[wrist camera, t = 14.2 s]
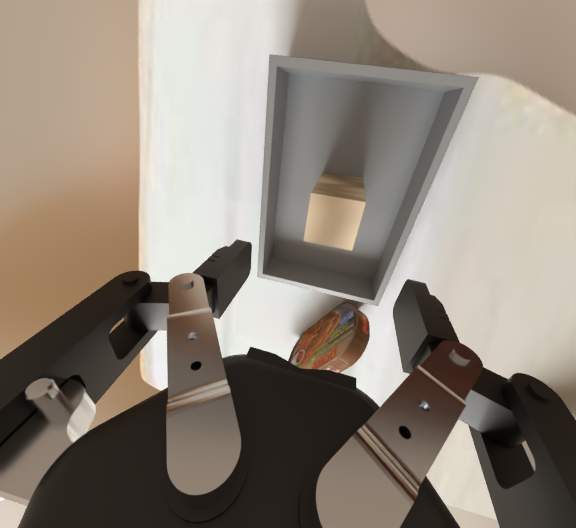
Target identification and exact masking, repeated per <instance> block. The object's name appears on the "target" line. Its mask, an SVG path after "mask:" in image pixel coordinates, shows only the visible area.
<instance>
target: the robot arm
mask: <svg viewBox="0 0 576 528" xmlns="http://www.w3.org/2000/svg"><path fill="white" fill-rule="evenodd" d="M251 250H252V245H251V243H250V242H246V241H241V240H236V241H235V242H234V243H233V244H232V245H231V246H230V247H227V246H225V247H223V248H220V249H218V250H217V251H216V252H214V253H213V254H212V256H210V257H209V258H208V260H206V261H205V262H204V263H203V264H202V265H201V266H200V267H198V268H197V269H196V270H195V271H194V272H193V273H185V274H180V275H177V276H175V277H174V278H172V279H171V280H170V282H151V280H150V276H149V274H148V273H146V272H143V271H129V272H125V273H122V274H120V275H118V276H116V277H115V278H114V279H112V280H111V281H109V282H108V283H107V284H105V285H104V286H102V287H101V288H100V289H98V290H97V291H95V292H94V293H93V294H91V295H90V296H88V297H87V298H86V299H84V300H83V301H81V302H80V303H79V304H77V305H76V306H74V307H73V308H72V309H70V310H69V311H67V312H66V313H65V314H63V315H62V316H60V317H59V318H58V319H56V320H55V321H54V322H52V323H51V324H49V325H48V326H47V327H45V328H44V329H42V330H41V331H40V332H38V333H37V334H35V335H34V336H33V337H31V338H30V339H28V340H27V341H26V342H24V343H23V344H22V345H20V346H19V347H17V348H16V349H14V350H13V351H12V352H10V353H9V354H7V355H6V356H5V357H3V358H2V359H0V501H2V500H5V499H8V500H11V501H14V502H18V503H20V504H24V505H27V508H26V510H25V513H24V515H23V518H22V520H21V522H20V524H19V526H18V528H460V527H459V525H458V524H457V522H456V521H455V519H454V518H453V516H452V514H451V513H450V511H449V510H448V508H447V507H446V505H445V504H444V502H443V501H442V499H441V498H440V496H439V495H438V493H437V492H436V490H435V489H434V487H433V486H432V484H431V483H430V481H429V480H428V478H427V477H426V474H427V473H428V471H429V469H430V467H431V466H432V464H433V462H434V460H435V459H436V457H437V455H438V453H439V452H440V450H441V448H442V446H443V445H444V443H445V441H446V440H447V438H448V436H449V434H450V433H451V431H452V429H453V427H454V426H455V424H456V422H457V420H458V419H459V420H461V421H463V422H464V423H466V424H468V425H469V428H470V432H471V435H472V438H473V441H474V445H475V448H476V451H477V454H478V458H479V461H480V464H481V468H482V471H483V474H484V477H485V481H486V484H487V487H488V490H489V494H490V497H491V500H492V504H493V507H494V510H495V513H496V517H497V520H498V523H499V526H500V528H576V420H575V419H574V417H573V416H572V414H571V413H570V411H569V410H568V408H567V407H566V405H565V404H564V402H563V401H562V399H561V398H560V397H559V396H558V395H557V394H556V393H555V392H554V391H553V390H552V389H551V388H550V387H549V386H547V385H546V384H544V383H543V382H541V381H540V380H538V379H536V378H534V377H532V376H529V375H527V374H522V373H516V374H514V375H512V376H511V377H510V378H509V379H506V378H504V377H502V376H500V375H498V374H496V373H494V372H492V371H490V370H488V369H486V368H484V367H483V364H482V361H481V360H480V358H479V357H478V356H477V354H476V353H475V352H474V351H472V350H471V349H470V348H468V347H467V346H465V345H463V344H461V343H460V342H459V340H458V337H457V335H456V333H455V331H454V329H453V326H452V324H451V322H450V321H449V318H448V315H447V314H446V311H445V309H444V307H443V305H442V303H441V302H440V301H439V300H438V299H437V298H436V297H435V296H433V295H430V293H429V291H428V288H427V286H426V284H425V283H422V282H418V281H414V280H409V279H408V280H407V281H406V282H405V284H404V286H403V288H402V290H401V292H400V294H399V296H398V298H397V300H396V302H395V305H394V308H393V318H394V324H395V329H396V335H397V340H398V346H399V351H400V357H401V362H402V368H403V372H405V373H409V374H410V375H409V376H408V377H407V378H406V379H405V380H404V381H403V383H402V384H401V385H400V386H399V387H398V388H397V389H396V390H395V391H394V392H393V394H392V395H391V396H390V397H389V398H388V399H387V400H386V401H385V402H384V403H383V405H382V406H381V407H379V406H378V405H377V404H376V403H375V402H374V401H373V400H372V399H371V398H370V397H369V396H368V395H367V394H365V393H364V392H362V391H361V390H359V389H358V388H356V378H354V377H351V376H348V375H344V374H341V373H337V372H334V371H331V370H320V369H303V368H299V367H297V366H295V365H293V364H292V363H290V362H288V361H286V360H285V359H283V358H281V357H279V356H278V355H276V354H273V353H270V352H266V351H263V350H260V349H256V348H253V347H250V349H249V351H248V353H247V355H245V354H242V355H233V356H228V357H225V358H222V355H221V351H220V346H219V342H218V337H217V333H216V328H215V323H214V319H213V317H214V318H218V319H220V317H221V316H222V314H223V313H224V311H225V310H226V308H227V307H228V306H229V304H230V303H231V301H232V300H233V298H234V297H235V295H236V294H237V292H238V291H239V290H240V288H241V287H242V285H243V284H244V282H245V281H246V279H247V278H248V276H249V273H250V269H251ZM122 318H124V321H123V322H122V323H121V324H120V325H119V326H118V327H116V328H115V329H114V330H113V331H112V332H111V333H110V331H111V329H112V328H113V326H114V325H116V324H117V323H118V322H119V321H120V320H121V319H122ZM158 330H167V364H168V388H166V389H164V390H162V391H160V392H159V393H157V394H155V395H153V396H151V397H150V398H148V399H146V400H144V401H142V402H141V403H139V404H137V405H135V406H133V407H131V408H130V409H128V410H126V411H124V412H122V413H120V414H119V415H117V416H115V417H113V418H111V419H109V420H108V421H106V422H104V423H102V424H100V425H98V426H97V427H95V428H93V429H92V430H90V431H88V427H89V426H90V424H91V423H92V421H93V419H94V416H95V412H96V408H95V404H96V403H97V401H98V400H99V399H100V398H101V397H102V396H103V395H104V393H105V392H106V391H107V390H108V389H109V387H110V386H111V385H112V384H113V383H114V381H115V380H116V379H117V378H118V377H119V376H120V375H121V373H122V372H123V371H124V370H125V369H126V367H127V366H128V365H129V364H130V363H131V362H132V360H133V359H134V358H135V357H136V356H137V355H138V353H139V352H140V351H141V350H142V349H143V347H144V346H145V345H146V344H147V343H148V342H149V340H150V339H151V338H152V337H153V336H154V335H155V333H156V332H157V331H158ZM109 333H110V334H109Z"/></svg>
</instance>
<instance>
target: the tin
mask: <svg viewBox="0 0 576 528" xmlns="http://www.w3.org/2000/svg"><path fill="white" fill-rule="evenodd" d="M369 336H370V334H369V321H368V318H367V317H366V315H365V314H363V313H362V312H361V311H359V310H358V309H356V308H355V307H354V306H353V305H352V304H349V303H345V304H341V305H339V306H337V307H336V308H335V309H333V310H332V311H331V312H330V313H328V314H327V315H326V316H325V317H323V318H322V319H321V320H320V321H318V322H317V323H316V324H315V325H313V326H312V327H311V328H310V329H308V330H307V331H306V332H305V333H304V334H303V335H302V336H301V337H300V338H299V340H298V341H297V343H296V344H295V346H294V348H293V350H292V352H291V355H290V358H289V361H288V362H290V363H292V364H293V365H295V366H297V367H299V368H303V369H320V370H331V371H334V372H337V373H340V372H342V371H343V370H345V369H347V368H349V367H350V366H352V365H353V364H354V363H355V362H356V361H357V360H358V359H359V358H360V357H361V355H362V354H363V352H364V350H365V349H366V346H367V344H368V341H369Z"/></svg>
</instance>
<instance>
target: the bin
mask: <svg viewBox="0 0 576 528" xmlns="http://www.w3.org/2000/svg"><path fill="white" fill-rule="evenodd" d="M478 78H479V77H471V76H462V75H453V74H444V73H435V72H426V71H416V70H407V69H398V68H389V67H380V66H371V65H362V64H352V63H343V62H334V61H325V60H316V59H307V58H298V57H289V56H279V55H270V57H269V75H268V93H267V111H266V129H265V147H264V165H263V183H262V201H261V218H260V236H259V254H258V272H257V277H260V278H264V279H268V280H273V281H277V282H281V283H285V284H289V285H293V286H297V287H301V288H305V289H310V290H314V291H318V292H322V293H326V294H330V295H334V296H338V297H342V298H347V299H351V300H355V301H359V302H363V303H367V304H371V305H375V306H378V305H379V303H380V300H381V298H382V296H383V294H384V291H385V289H386V287H387V284H388V282H389V280H390V278H391V275H392V273H393V271H394V269H395V266H396V264H397V262H398V259H399V257H400V255H401V253H402V250H403V248H404V246H405V244H406V241H407V239H408V237H409V234H410V232H411V230H412V228H413V225H414V223H415V221H416V219H417V216H418V214H419V212H420V209H421V207H422V205H423V203H424V200H425V198H426V196H427V194H428V191H429V189H430V187H431V184H432V182H433V180H434V178H435V175H436V173H437V171H438V169H439V166H440V164H441V162H442V159H443V157H444V155H445V153H446V150H447V148H448V146H449V143H450V141H451V139H452V137H453V134H454V132H455V130H456V128H457V125H458V123H459V121H460V118H461V116H462V114H463V112H464V109H465V107H466V105H467V103H468V100H469V98H470V96H471V93H472V91H473V89H474V87H475V84H476V82H477V80H478ZM323 172H327V173H334V174H340V175H347V176H353V177H359V178H363V182H364V190H365V198H366V204H365V207H364V211H363V214H362V218H361V221H360V225H359V228H358V232H357V235H356V239H355V242H354V246H353V249H352V251H351V250H346V249H341V248H336V247H331V246H326V245H321V244H316V243H311V242H306V241H304V234H305V228H306V222H307V215H308V209H309V202H310V196H311V192H312V190H313V188H314V187H315V185H316V183H317V182H318V180H319V178H320V176H321V175H322V173H323Z"/></svg>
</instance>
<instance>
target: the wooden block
mask: <svg viewBox="0 0 576 528" xmlns="http://www.w3.org/2000/svg"><path fill="white" fill-rule="evenodd" d="M365 204H366V198H365V190H364V182H363V178H359V177H353V176H347V175H340V174H334V173H327V172H323V173H322V175H321V176H320V178H319V180H318V182H317V183H316V185H315V187H314V188H313V190H312V192H311V196H310V202H309V209H308V215H307V222H306V228H305V234H304V241H306V242H311V243H316V244H321V245H326V246H331V247H336V248H341V249H346V250H351V251H352V249H353V246H354V242H355V239H356V235H357V232H358V228H359V225H360V221H361V218H362V214H363V211H364V207H365Z"/></svg>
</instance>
